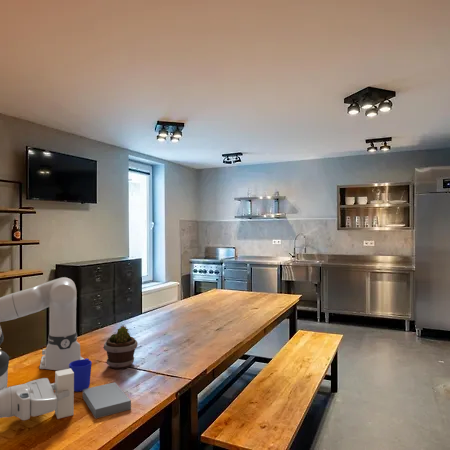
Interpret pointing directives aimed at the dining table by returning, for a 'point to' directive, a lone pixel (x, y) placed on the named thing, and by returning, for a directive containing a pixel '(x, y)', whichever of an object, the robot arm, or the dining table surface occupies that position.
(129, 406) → the block
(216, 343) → the dining table surface
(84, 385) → the mug
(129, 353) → the flowerpot
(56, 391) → the block
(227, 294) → the dining table surface
